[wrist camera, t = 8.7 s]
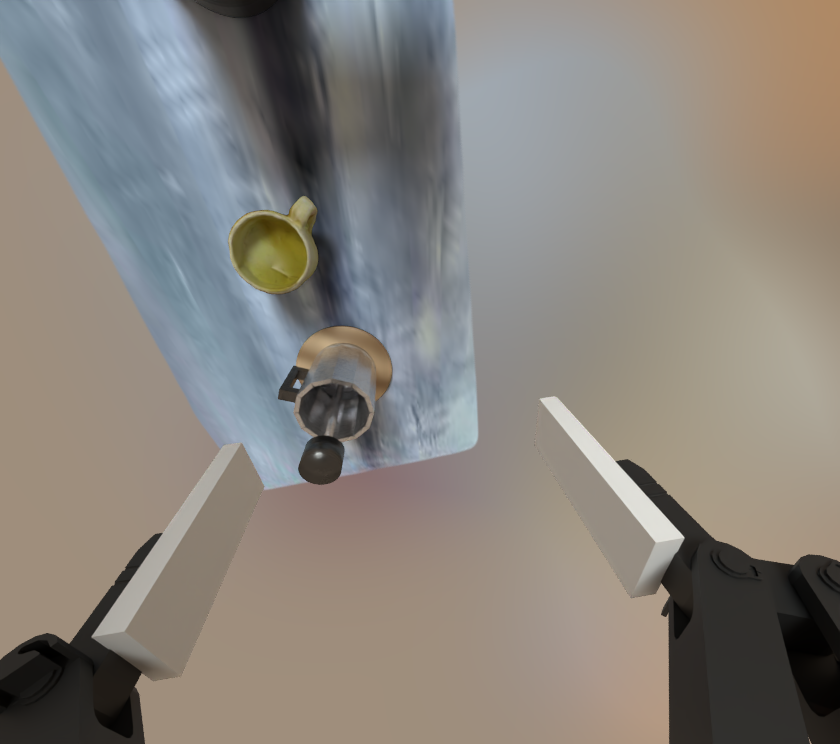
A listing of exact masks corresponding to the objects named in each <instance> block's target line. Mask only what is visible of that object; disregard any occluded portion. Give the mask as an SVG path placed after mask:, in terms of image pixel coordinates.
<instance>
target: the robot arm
mask: <svg viewBox="0 0 840 744" xmlns="http://www.w3.org/2000/svg"><path fill="white" fill-rule="evenodd" d="M195 1H196V2H197V3H199V4H200V5H202V6H204V7H205V8H207V9H209V10H211V11H214V12H216V13H219V14H222V15H225V16H229V17H250V16H254V15H257V14H259V13H262V12H263V11H265V10H267V9H268V8H270V7H271V6H272V5H273V4H274V3H275V2H276V1H277V0H195ZM535 447H536V448H537V450H538V452H539V453H540V455H541V456H542V458H543V459H544V461H545V463H546V464H547V466H548V468H549V469H550V471H551V472H552V474H553V475H554V477H555V479H556V480H557V482H558V483H559V485H560V486H561V488H562V490H563V491H564V493H565V495H566V496H567V498H568V499H569V501H570V502H571V504H572V506H573V507H574V509H575V510H576V512H577V513H578V515H579V517H580V518H581V520H582V521H583V523H584V525H585V526H586V528H587V529H588V531H589V533H590V534H591V536H592V537H593V539H594V541H595V542H596V544H597V545H598V547H599V548H600V550H601V552H602V553H603V555H604V556H605V558H606V560H607V561H608V562H609V564H610V566H611V568H612V569H613V571H614V572H615V574H616V575H617V577H618V579H619V580H620V582H621V583H622V585H623V587H624V588H625V590H626V591H627V593H628V594H629V596H630V598H635V597H640V596H646V595H652V594H656V592H657V590H658V588H659V586H660V584H661V583H662V584H663V586H664V587H665V588H666V590H667V591H668V592H669V594H670V597H669V598H668V600H667V602H666V604H665V606H664V607H663V610H662V613H661V615H663V616H665V617H666V616H667V614H668V613H669V744H810V743H809V739H810V741H811V743H812V744H840V562H838V561H837V560H833V559H830V558H827V557H824V556H820V555H806V556H803V557H801V558H800V559H799V560H798V561H797V562H796V563H795V565H790V564H784V563H777V562H771V561H765V560H758V559H753V558H751V557H750V556H748V555H747V554H746V553H744V552H743V551H741V550H739V549H738V548H736V547H733V546H731V545H729V544H727V543H723V542H719V541H716V540H715V539H714V538H712V537H711V536H710V535H709V534H708V533H707V532H706V531H705V530H704V529H703V528H702V527H701V526H700V525H699V524H698V523H697V522H696V521H695V520H694V519H693V518H692V517H691V516H690V515H689V514H688V513H687V512H686V511H685V510H684V509H683V508H682V507H681V506H680V505H679V504H678V503H677V502H676V501H675V500H674V499H673V498H672V497H671V496H670V495H668V494H667V492H666V491H665V490H664V489H663V488H662V487H661V486H660V485H659V484H657V483H656V481H655V480H654V479H653V478H652V477H651V476H650V475H649V474H648V473H647V472H646V471H645V470H644V469H643V468H641V467H639V466H638V465H636V464H635V463H633V462H631V461H630V460H628V459H627V460H620V461H614V459H612V457H611V456H610V455H609V454H608V453H607V452H606V451H605V450H604V448H603V447H602V446H601V445H600V444H599V443H598V442H597V441H596V440H595V439H594V438H593V437H592V435H591V434H590V433H589V432H588V431H587V430H586V429H585V428H584V427H583V425H582V424H581V423H580V422H579V421H578V420H577V419H576V418H575V417H574V416H573V414H572V413H571V412H570V411H569V410H568V409H567V408H566V407H565V406H564V405H563V404H562V402H561V401H560V400H559V399H558V398H557V397H556V396H554V397H547V398H540V399H539V405H538V415H537V425H536V434H535ZM263 489H264V485H263V483H262V481H261V479H260V477H259V475H258V473H257V471H256V469H255V467H254V465H253V463H252V461H251V460H250V458H249V456H248V454H247V452H246V450H245V448H244V446H243V444H242V443H235V444H228V445H223V447H222V448H221V450H220V451H219V453H218V454H217V456H216V457H215V458H214V460H213V462H212V463H211V464H210V466H209V467H208V469H207V470H206V472H205V473H204V474H203V476H202V477H201V479H200V480H199V482H198V483H197V485H196V486H195V487H194V489H193V490H192V492H191V493H190V495H189V496H188V498H187V499H186V501H185V502H184V503H183V505H182V506H181V508H180V509H179V511H178V512H177V514H176V515H175V517H174V518H173V520H172V521H171V522H170V524H169V525H168V527H167V528H166V530H165V531H164V533H159V534H155V535H154V536H153V537H151V538H150V539H149V540H148V541H147V542H146V543H145V544H144V545H143V546H142V547H141V548H140V549H139V550H138V551H137V552H136V553H135V555H134V556H133V558H132V559H131V560H130V562H129V563H128V564H127V566H126V567H125V568H126V569H125V571H122V573H121V574H120V575H119V577H118V578H117V580H116V581H115V585H114V586H111V588H110V589H109V591H108V592H107V593H106V595H105V596H104V597H103V599H102V600H101V601H100V603H99V604H98V606H97V607H96V608H95V610H94V611H93V613H92V614H91V615H90V617H89V618H88V619H87V621H86V622H85V623H84V625H83V626H82V628H81V629H80V630H79V632H78V633H77V635H76V636H75V637H74V638H73V640H72V641H71V643H70V644H68V643H66V642H65V641H63V640H62V639H60V638H59V637H57V636H56V635H53V634H49V633H46V634H43V635H39V636H35V637H33V638H32V639H30V640H28V641H26V642H24V643H22V644H21V645H19V646H18V647H16V648H15V649H14V650H12V651H11V652H10V653H8V654H7V655H5V656H4V657H3V658H2V659H1V660H0V744H145V740H144V732H143V724H142V715H141V707H140V698H139V693H138V691H137V689H136V688H135V687H134V686H135V684H136V683H137V681H138V679H139V677H140V675H141V673H142V674H144V675H145V676H147V677H148V678H150V679H151V680H152V681H157V680H162V679H168V678H174V677H180V676H181V675H182V673H183V671H184V668H185V666H186V663H187V662H188V659H189V657H190V655H191V652H192V650H193V648H194V646H195V643H196V641H197V639H198V637H199V634H200V632H201V630H202V627H203V625H204V623H205V621H206V618H207V616H208V614H209V611H210V609H211V607H212V605H213V602H214V600H215V598H216V596H217V593H218V591H219V589H220V586H221V584H222V582H223V580H224V577H225V575H226V573H227V570H228V568H229V566H230V564H231V561H232V559H233V557H234V555H235V552H236V550H237V548H238V546H239V543H240V541H241V538H242V536H243V534H244V532H245V529H246V527H247V525H248V523H249V520H250V518H251V516H252V514H253V511H254V509H255V507H256V505H257V502H258V500H259V498H260V495H261V493H262V491H263ZM808 737H809V738H808Z"/></svg>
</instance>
